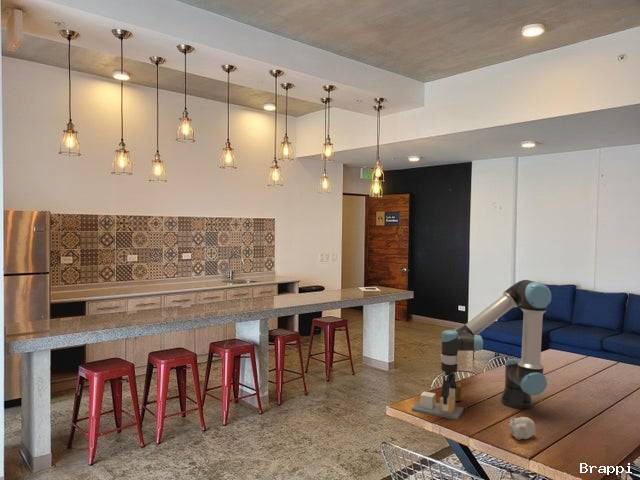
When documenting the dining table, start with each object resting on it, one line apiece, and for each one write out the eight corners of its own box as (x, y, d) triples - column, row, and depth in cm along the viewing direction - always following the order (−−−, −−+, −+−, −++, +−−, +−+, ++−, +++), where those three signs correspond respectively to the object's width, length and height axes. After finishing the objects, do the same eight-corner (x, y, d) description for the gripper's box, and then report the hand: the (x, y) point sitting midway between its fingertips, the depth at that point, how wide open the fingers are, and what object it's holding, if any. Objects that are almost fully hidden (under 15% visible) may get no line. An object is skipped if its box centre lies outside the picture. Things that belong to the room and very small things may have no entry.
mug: (465, 400, 245) (459, 381, 247) (445, 405, 247) (440, 385, 249) (464, 397, 256) (459, 378, 259) (445, 401, 258) (440, 382, 261)
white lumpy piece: (517, 443, 200) (501, 432, 215) (543, 442, 201) (525, 431, 216) (516, 420, 201) (500, 411, 216) (542, 420, 202) (524, 411, 217)
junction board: (463, 410, 237) (463, 395, 237) (457, 420, 225) (457, 404, 224) (419, 401, 247) (420, 388, 247) (411, 410, 235) (412, 396, 235)
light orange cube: (454, 409, 235) (455, 397, 235) (452, 413, 229) (452, 401, 229) (442, 406, 238) (442, 394, 237) (439, 410, 232) (439, 398, 232)
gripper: (447, 355, 246) (447, 396, 246) (434, 368, 224) (434, 413, 224) (462, 357, 242) (462, 399, 243) (451, 370, 220) (450, 416, 221)
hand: (448, 406), depth 233 cm, fingers open, 13 cm apart
